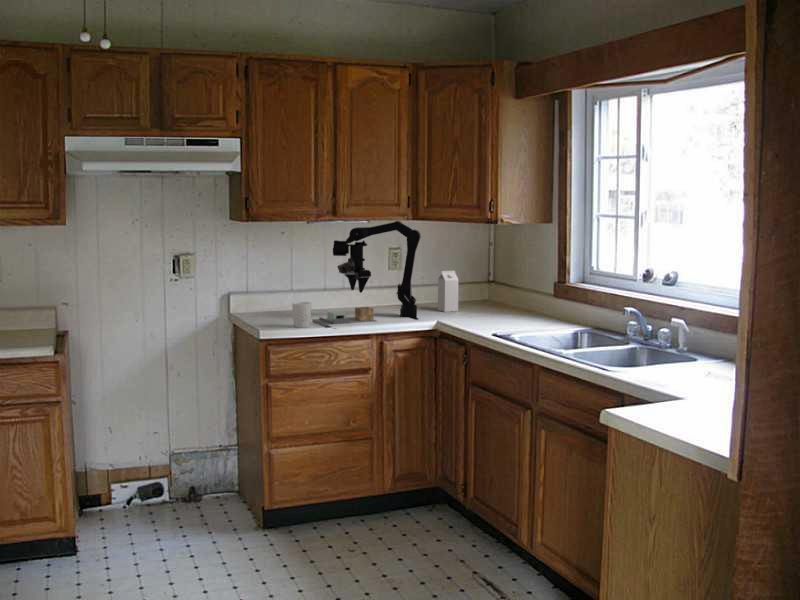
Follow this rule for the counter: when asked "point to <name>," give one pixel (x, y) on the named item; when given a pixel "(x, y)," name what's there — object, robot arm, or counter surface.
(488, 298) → the counter surface
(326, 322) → the board
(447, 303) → the milk carton
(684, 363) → the counter surface
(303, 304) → the white cup
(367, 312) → the collar
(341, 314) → the housing
